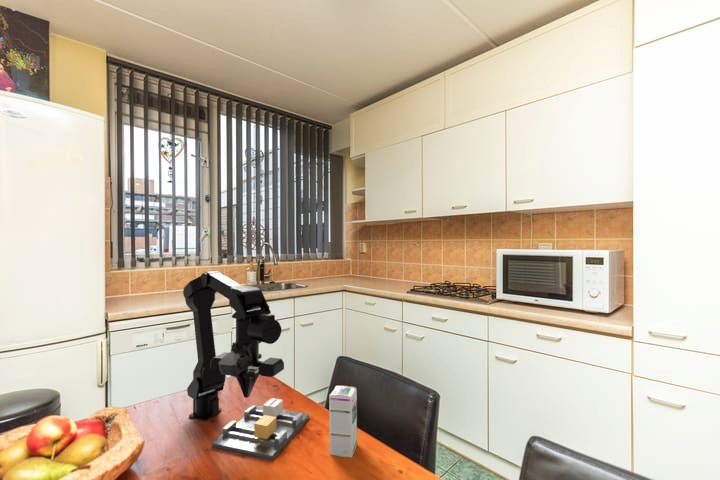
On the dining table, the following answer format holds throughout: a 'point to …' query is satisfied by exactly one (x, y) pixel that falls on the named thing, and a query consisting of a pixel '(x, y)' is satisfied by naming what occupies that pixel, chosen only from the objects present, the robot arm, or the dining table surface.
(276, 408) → the fader ivory
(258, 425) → the fader amber
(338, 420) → the syrup box
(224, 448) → the console
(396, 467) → the dining table surface
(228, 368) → the robot arm
